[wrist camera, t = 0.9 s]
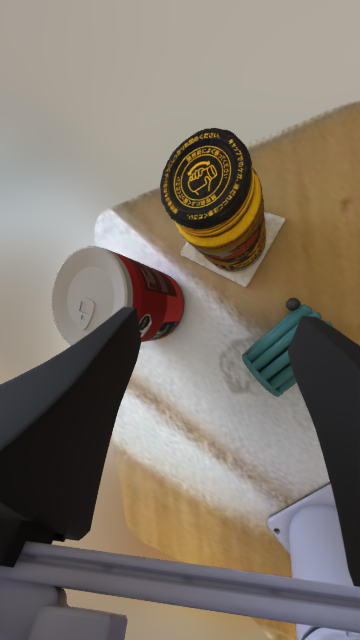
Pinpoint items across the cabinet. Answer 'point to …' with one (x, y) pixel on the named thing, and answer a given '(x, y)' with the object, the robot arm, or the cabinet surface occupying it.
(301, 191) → the cabinet surface
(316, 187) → the cabinet surface
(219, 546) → the cabinet surface
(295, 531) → the robot arm
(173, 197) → the condiment
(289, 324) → the pencil holder
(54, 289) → the canned food
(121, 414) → the cabinet surface
